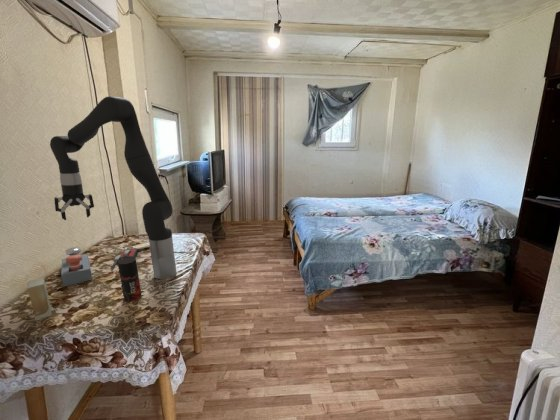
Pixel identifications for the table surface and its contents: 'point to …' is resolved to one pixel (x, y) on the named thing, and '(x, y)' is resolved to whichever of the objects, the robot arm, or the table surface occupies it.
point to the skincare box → (39, 298)
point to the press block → (76, 272)
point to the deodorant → (129, 279)
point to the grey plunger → (73, 251)
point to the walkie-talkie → (126, 255)
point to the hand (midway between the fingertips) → (76, 218)
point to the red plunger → (74, 262)
